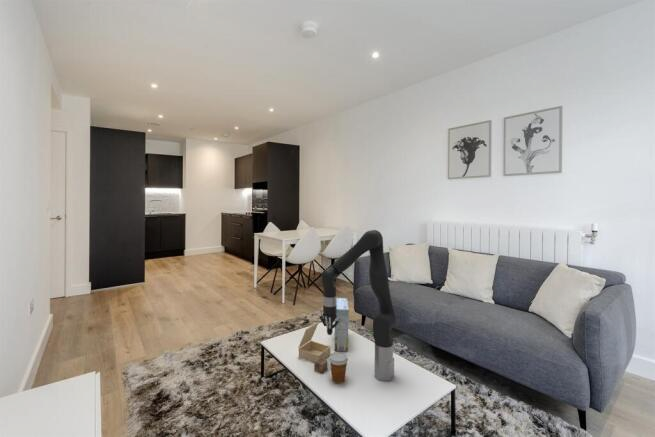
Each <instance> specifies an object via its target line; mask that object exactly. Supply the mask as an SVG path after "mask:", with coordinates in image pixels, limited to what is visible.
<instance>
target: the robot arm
mask: <svg viewBox="0 0 655 437" xmlns="http://www.w3.org/2000/svg"><path fill="white" fill-rule="evenodd" d="M367 252H369V257H370V258H369V260H370V261H369V270H368V272H369V274H368V275H369V276H368V277H369V281H370V282H369V283H370V288H371V290H372V292H373V294H374V295H375V297H376V299H377V301H378V305H379V306H378V307H379V313H377V314H375V316H374V317H373V320H372V336H373V339H374V370H373V371H374V372H373V373H374V374H373V375H374V377H375V378H376V379H377V380H379V381H382V382H383V381H384V382H391V381H392V379H393V378H394V376H395V357H394V339H393V337H392V336H391V333H390V331H391V329H393V328H394V327H395V325H396V322H397V320H396V314H395V310H394V307H393V303H392V296H391V291H390V290H391V289H390V284H389V277H388V276H389V275H388V271H387V266H386V259H385V256H384V255H385V254H384V239H383V235H382V233H381V232H380V231H379V230H376V229H371V230H368V231H365V232H364V233H363V234H362V236H361V237H360V238H359V239H358V241H357V242H356V243H355V244H354V245H353V246H352V247H351V248H350V249H349V250H348V251H346V252H345V253H344V254H343V255H340V257H339V258H338V259H336V261H335V262H334V263H333V264H332V265H331V266H329V267H328V268H326V269H324V270H323V271H322V273H321V278H320V279H321V282H322V287H323V290H322V291H323V299H322V312H323V313H322V315H319V319H320V321H321V323H322V325H323V326H324V327H326V333H327V335H329V336H331V335H333V333H334V332H333V331H334V330H333V329H335V327H336V326H337V324H338V323H339V322H340V319H338V318H337V315H336V312H337V299H336V298H337V286H336V285H335V284H334V280H337V278H338V277H339V276H340V275H341V274H342V273H343V272H345V271H347V270H348V269H350V267H351V266H352V265H353V264H354V263H355V262H356V261H357V260H358V259H359V258H360V257H362V255H364V254H365V253H367Z"/></svg>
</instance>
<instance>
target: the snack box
mask: <svg viewBox="0 0 655 437" xmlns="http://www.w3.org/2000/svg"><path fill="white" fill-rule="evenodd" d="M336 299H337V312H336V315H337V318H338V319H340V322H339V323H338V324H337V326H336V327H334V332H333V333H334V351H335V352H348V350H349V320H350V319H349V317H350V315H349V314H350V311H349V310H350V308H349V302H348V298H345V297H342V298H341V297H336Z"/></svg>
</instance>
